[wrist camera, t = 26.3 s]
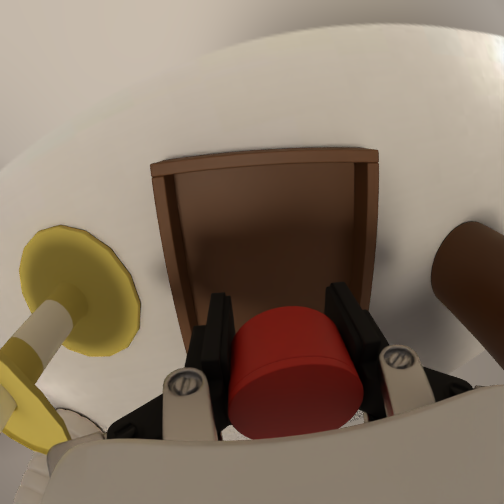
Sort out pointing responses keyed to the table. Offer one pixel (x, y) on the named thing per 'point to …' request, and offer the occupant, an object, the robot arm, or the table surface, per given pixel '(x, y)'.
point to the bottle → (474, 283)
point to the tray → (266, 228)
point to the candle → (62, 325)
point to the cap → (291, 375)
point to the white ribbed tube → (37, 468)
